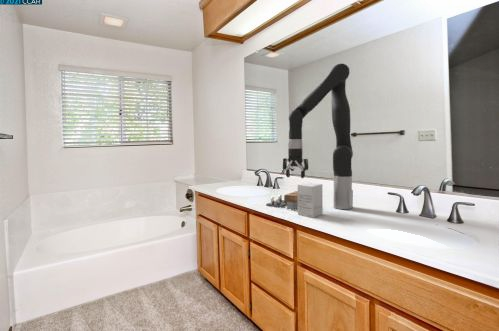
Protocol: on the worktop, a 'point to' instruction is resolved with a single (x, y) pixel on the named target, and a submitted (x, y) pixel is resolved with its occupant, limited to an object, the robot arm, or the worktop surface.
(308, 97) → the robot arm
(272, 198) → the peg base
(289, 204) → the stand
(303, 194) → the supplement box
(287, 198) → the brown wooden block
